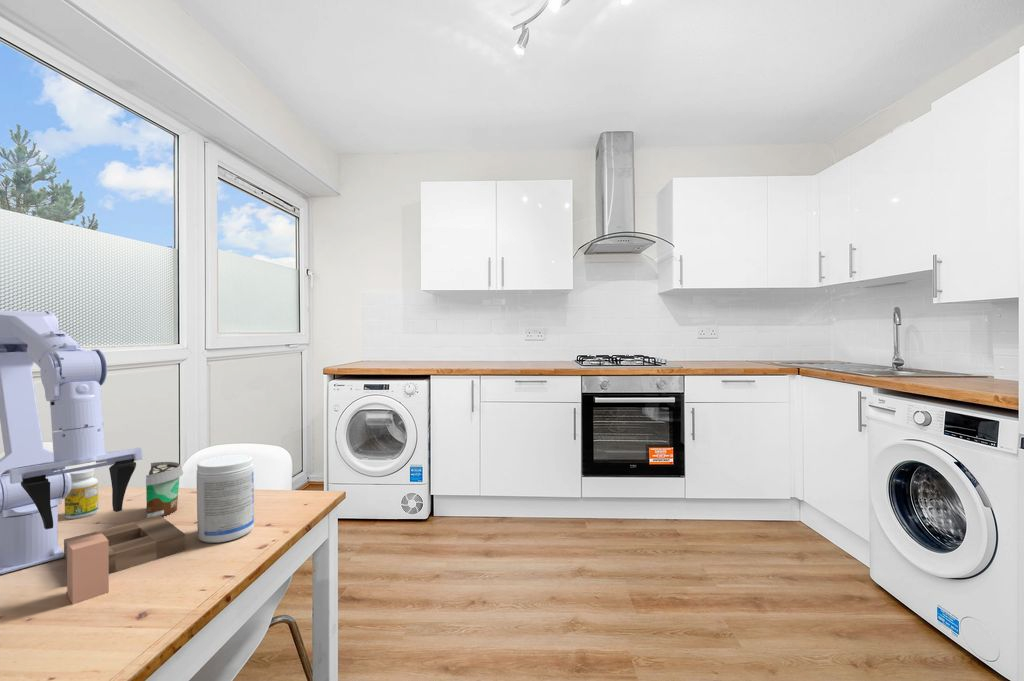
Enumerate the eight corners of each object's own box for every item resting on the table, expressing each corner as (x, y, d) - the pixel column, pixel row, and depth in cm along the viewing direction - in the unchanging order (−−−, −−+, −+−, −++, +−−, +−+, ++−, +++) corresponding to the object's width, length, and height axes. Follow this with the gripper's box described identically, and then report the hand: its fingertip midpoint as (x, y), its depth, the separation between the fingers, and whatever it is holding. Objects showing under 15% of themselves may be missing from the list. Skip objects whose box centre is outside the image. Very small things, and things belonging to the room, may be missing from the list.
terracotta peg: (67, 595, 69) (67, 542, 69) (102, 583, 72) (102, 533, 72) (72, 604, 67) (72, 549, 67) (108, 592, 70) (108, 540, 70)
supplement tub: (264, 528, 93) (264, 456, 93) (219, 548, 84) (219, 469, 84) (231, 521, 97) (231, 451, 97) (185, 539, 88) (185, 463, 88)
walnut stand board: (63, 556, 81) (63, 539, 81) (160, 530, 92) (160, 515, 92) (80, 582, 73) (80, 563, 73) (184, 550, 84) (184, 533, 84)
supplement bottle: (104, 510, 102) (104, 468, 102) (78, 520, 97) (78, 475, 97) (84, 509, 103) (84, 466, 103) (57, 518, 98) (57, 473, 98)
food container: (182, 517, 99) (182, 471, 99) (146, 523, 95) (145, 476, 95) (184, 500, 109) (183, 458, 109) (151, 505, 106) (151, 462, 105)
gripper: (11, 437, 62) (17, 540, 61) (145, 419, 73) (151, 505, 72) (5, 438, 66) (11, 534, 65) (132, 421, 78) (139, 502, 77)
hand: (84, 519), depth 69 cm, fingers open, 7 cm apart
